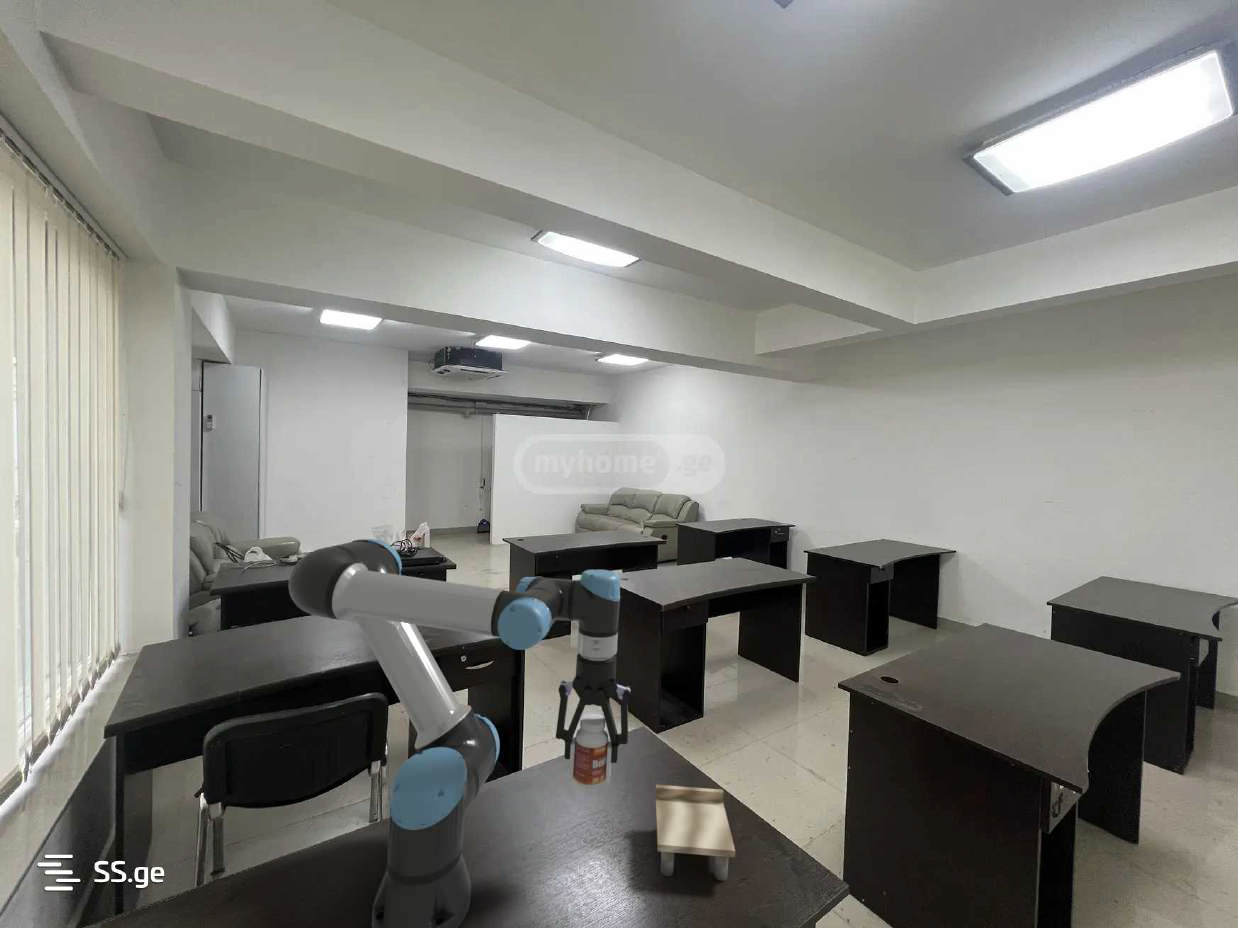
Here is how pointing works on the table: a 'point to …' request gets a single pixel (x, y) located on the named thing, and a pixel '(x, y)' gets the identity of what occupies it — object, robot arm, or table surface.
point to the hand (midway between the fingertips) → (589, 776)
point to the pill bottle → (591, 751)
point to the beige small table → (692, 826)
